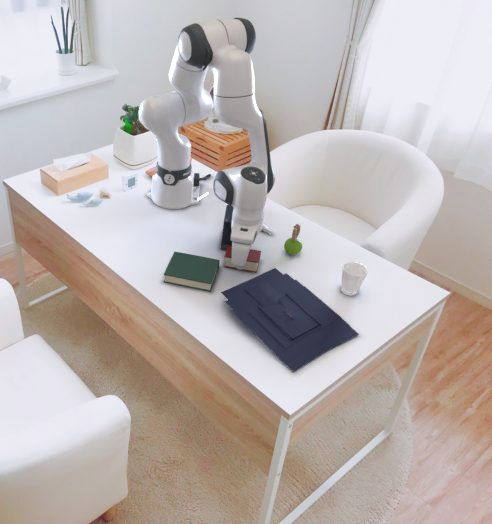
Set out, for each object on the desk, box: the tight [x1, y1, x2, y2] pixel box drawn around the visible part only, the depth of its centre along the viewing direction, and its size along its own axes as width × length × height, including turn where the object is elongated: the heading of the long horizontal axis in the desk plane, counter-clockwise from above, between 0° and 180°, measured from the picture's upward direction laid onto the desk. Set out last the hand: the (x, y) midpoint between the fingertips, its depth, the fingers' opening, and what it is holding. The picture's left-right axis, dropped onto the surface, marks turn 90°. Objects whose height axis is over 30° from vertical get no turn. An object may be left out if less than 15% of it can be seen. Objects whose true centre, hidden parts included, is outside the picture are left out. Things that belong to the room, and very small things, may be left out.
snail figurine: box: [283, 223, 303, 256], centre depth 176 cm, size 5×6×12 cm
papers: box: [220, 267, 359, 372], centre depth 154 cm, size 24×30×4 cm
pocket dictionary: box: [222, 245, 262, 274], centre depth 174 cm, size 6×10×4 cm, turn 72°
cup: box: [340, 261, 368, 297], centre depth 163 cm, size 7×10×8 cm
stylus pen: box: [261, 222, 274, 236], centre depth 192 cm, size 15×3×2 cm, turn 36°
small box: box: [219, 204, 234, 251], centre depth 181 cm, size 11×6×10 cm, turn 168°
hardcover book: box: [163, 251, 221, 293], centre depth 169 cm, size 12×14×3 cm
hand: (241, 261), depth 174 cm, fingers closed on pocket dictionary, 6 cm apart
